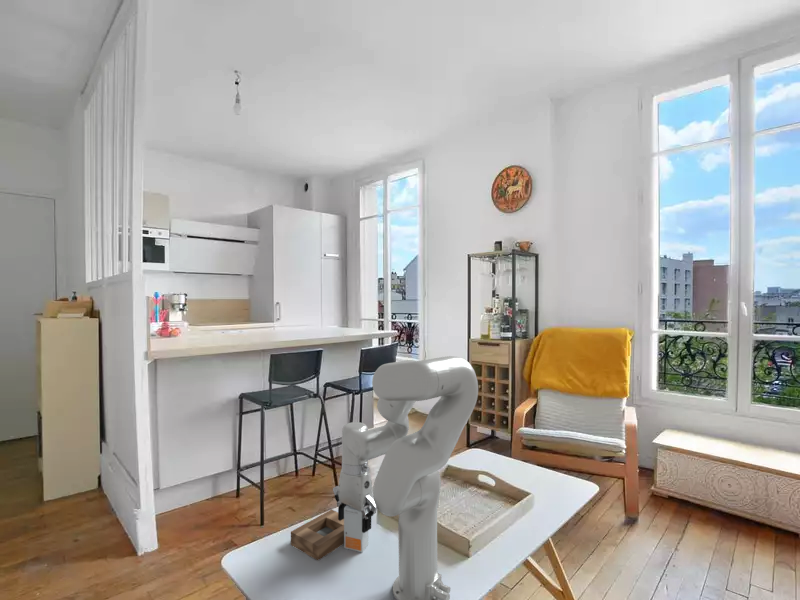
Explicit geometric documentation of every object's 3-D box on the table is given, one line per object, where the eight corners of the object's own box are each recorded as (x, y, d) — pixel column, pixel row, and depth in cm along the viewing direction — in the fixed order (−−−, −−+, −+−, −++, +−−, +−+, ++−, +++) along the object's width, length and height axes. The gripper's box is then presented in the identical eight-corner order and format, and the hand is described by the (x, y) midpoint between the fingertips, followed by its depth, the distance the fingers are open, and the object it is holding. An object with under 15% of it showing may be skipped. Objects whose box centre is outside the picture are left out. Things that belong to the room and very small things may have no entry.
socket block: (358, 534, 128) (358, 521, 128) (318, 560, 115) (317, 546, 115) (331, 521, 135) (331, 509, 135) (290, 545, 123) (290, 531, 123)
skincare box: (343, 549, 121) (343, 507, 120) (350, 541, 125) (350, 500, 124) (362, 553, 118) (362, 511, 118) (369, 545, 122) (368, 504, 122)
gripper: (386, 470, 119) (385, 529, 120) (343, 454, 130) (343, 509, 130) (368, 479, 113) (367, 541, 114) (325, 462, 124) (324, 519, 124)
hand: (354, 524), depth 122 cm, fingers open, 9 cm apart
